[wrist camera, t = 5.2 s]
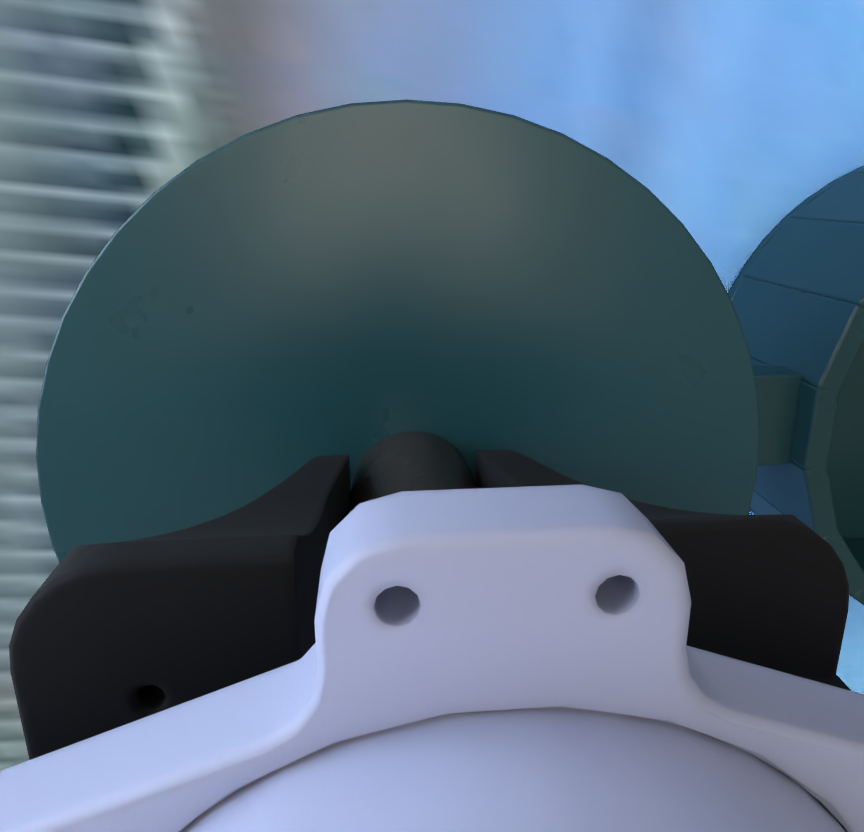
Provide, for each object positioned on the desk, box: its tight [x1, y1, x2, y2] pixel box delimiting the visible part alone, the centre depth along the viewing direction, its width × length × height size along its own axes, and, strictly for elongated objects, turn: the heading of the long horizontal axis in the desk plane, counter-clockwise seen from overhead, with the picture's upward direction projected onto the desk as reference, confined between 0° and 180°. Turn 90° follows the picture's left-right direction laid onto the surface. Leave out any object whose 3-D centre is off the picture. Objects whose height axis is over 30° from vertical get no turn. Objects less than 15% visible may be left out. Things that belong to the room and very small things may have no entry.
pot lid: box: [36, 100, 760, 563], centre depth 13 cm, size 14×14×4 cm
